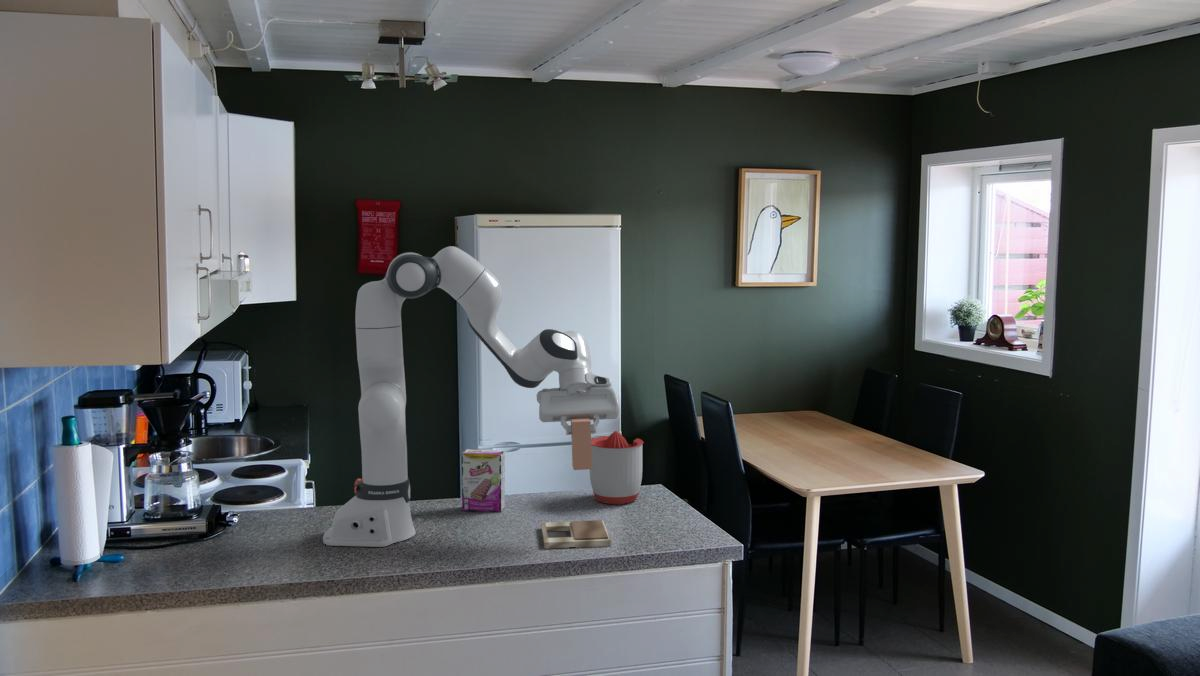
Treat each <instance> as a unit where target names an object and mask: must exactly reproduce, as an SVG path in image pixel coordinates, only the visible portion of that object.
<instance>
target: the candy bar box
mask: <svg viewBox="0 0 1200 676" xmlns="http://www.w3.org/2000/svg"><path fill="white" fill-rule="evenodd" d="M505 459H506V457H505V450H502V449H501V450H500V449H499V450H498V449H474V448H473V449H472V448H471V449H469V448H466V449H464V450H463V451H462V453H461V501H462V502H461V504H462V505H461V506H462V507H461V509H462V512H463V511H464V512H465V511H468V512H497V513H502V512H503V510H504V508H506V506H505V505H506V499H505V498H506V497H505V493H506V491H505V490H506V489H505V486H506V485H505V483H506V482H505V481H506V479H505V475H506V474H505V468H506V467H505V461H506V460H505Z"/></svg>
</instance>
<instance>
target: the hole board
mask: <svg viewBox="0 0 1200 676" xmlns="http://www.w3.org/2000/svg"><path fill="white" fill-rule="evenodd" d="M541 534H542V535H541V536H542V541H543V547H544V549H547V550H548V549H549V550H550V549H567V548H568V549H570V548H569V547H576V548H592V547H593V548H595V547H598V548H599V547H601V548H602V547H611V544H612V543H611V542H612V541H611V538H610V534H609V533H608V530H607V527H606V525H605V522H604V520H602V519H599V520H597V519H596V520H595V519H594V520H574V521H573V520H572V521H571V520H570V521H558V522H557V521H554V522H550V521H549V522H541Z"/></svg>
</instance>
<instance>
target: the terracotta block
mask: <svg viewBox="0 0 1200 676" xmlns="http://www.w3.org/2000/svg"><path fill="white" fill-rule="evenodd" d="M591 421H592V420H590V419H589V418H574V419H571V421H570V426H572V435H570V438H571V460H572V461H571V462H572V463H571V464H572V469H573V471H580V470H581V471H582V470H583V471H584V470H590V469H592V450H591V439H592V434H591V424H592V423H591Z"/></svg>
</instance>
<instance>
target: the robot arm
mask: <svg viewBox="0 0 1200 676" xmlns="http://www.w3.org/2000/svg"><path fill="white" fill-rule="evenodd" d="M436 288H439V289H441V290H443V291H444V292H446V293H447V294H448V295H450V296H451V298H453V299H454V300H455V301H456V302H457V303H458V304H459V305H460V306H461V307H462V308H463V310H464V312H465V313H466V315H467V323H468V325H469V327H470V329H471V330H472V331H473V333H474V334H475V335H476V336H477V338H478V339H479V340H480V341H481V342H482V343H483V344H484V346H486V348H487V349H488V350H489V352H490V353H492V355H494V357H495V359H497V360H498V361H499V363H500V364H501V365H502V366H503V368H504V369H505V370H506V373H508V374H507V375H509V377H510V379H511V380H512V381H513V383H515V384H517V385H518V386H520V387H523V388H527V389H534V388H537V387H538V386H539V385H540V384H541V383H542V382H544V380H545V379H546V378H547V377H548V376H549V375H551V373H553V372H557V373H558V386H559V387H552V388H541V390H539V391H538V392H537V393H536V402H537V403H538V404H539V407H538V417H539V418H538V419H539V420H540V422H542V423H558V422H560V425H561V426H562V427H563V429H564V430H565V435H566V436H568V435H569V436H571V435H572V426H571V425H569V424H568V423H567V422H571V419H574V418H589V419H590V421H593V424H592V423H591V435H592V434H597V426H598V425H599V424H600V420H602V421H603V420H616V419H617V418H618V417H619V415H620V404H619V399H618V396H617V395H618V394H617V392H616V391H615V389H614V388H612V380H611V378H610V377H605V376H600V375H596V374H594V373H592V370H591V368H592V359H591V358H592V357H591V351H590V348H589V344H588V342H587V340H586V338H585V337H584V335H583V334H581V333H580V332H578V331H574V330H567V331H565V332H562V331H559V330H556V329H553V328H552V329H551V328H549V329H548V328H546V329H544V330H542V331H540V332H539V333H538V334H537V335H536V336H534V337H533V338H532V339H531V340H530V342H528V343H527V344H526V345H525V346H523V348H522V349H521V348H517V347H516V346H515V345H514V344H513V343H512V342H511V340H509V338H508V336H506V335H505V334H504V332H503V331H502V330H501V329H500V327H499V326H498V324H497V314H498V311H499V308H500V306H501V302H502V298H503V289H502V285H501V282H500V280H499V278H497V276H495V274H493V272H492V271H490V270H489V269H488V268H487V267H486V266H485V265H483V264H482V263H481V262H480V261H478V259H476V258H474V257H473V256H472V255H470V254H469V253H468V252H466V251H464V250H462V249H460V248H459V247H457V246H454V245H453V246H451V245H449V246H446V247H444V248H442V249H440V250H439V251H438V252H437V253H436V254H435V255H434V256H432V257H430V256H423V255H422V254H420V253H416V252H414V251H413V252H412V251H409V252H407V251H406V252H403V253H400V254H398V255H396V257H394V258H393V259H392V260H391V261H390V263H389V265H388V268H387V271H386V272H385V274H384V276H383V278H382V279H381V280H374V281H369V282H366V283H364V284H363V285H362V286H361V287H360V288H359V289H358V291H357V295H356V302H355V317H354V319H355V321H354V323H355V337H356V338H355V339H356V355H357V357H356V358H357V365H358V372H359V380H360V381H359V382H360V394H361V395H360V398H359V402H358V407H357V408H358V409H357V410H358V424H359V435H360V436H359V439H360V448H361V449H360V450H361V451H360V452H361V469H362V470H361V474H362V475H361V476H362V477H361V478H356V480H355V482H354V486H353V489H354V496H353V497H352V498H351V499H349V500H348V501H347V502H345V503H344V504H343V505H342V506H341V507H340V508H338V509H337V511H336V512H335V514H334V515H333V519H332V524H331V527H329V528H327V530H326V531H325V532H324V534H323V536H322V542H323V544H324V545H325V544H326V546H333V547H334V546H335V547H337V546H338V547H340V546H341V547H371V548H375V547H378V548H383V547H388V546H390V545H392V544H394V543H395V544H396V543H399V542H403V541H406V540H408V539H411V538H412V537H414V536H416V529H415V526H414V522H413V518H412V514H411V513H412V512H411V507H410V506H411V505H410V500H411V484H410V478H409V477H408V476H409V475H408V446H407V445H408V443H407V431H406V429H407V427H406V426H407V425H406V406H407V393H406V392H407V390H406V377H405V376H406V375H405V365H404V364H405V363H404V361H405V360H404V348H403V331H402V328H403V327H402V326H403V325H402V307H403V303H404V301H405V300H406V299H410V300H411V299H418V298H419V297H422V296H424V295H426V294H427V293H429V292H430V291H432V290H434V289H436Z"/></svg>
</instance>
